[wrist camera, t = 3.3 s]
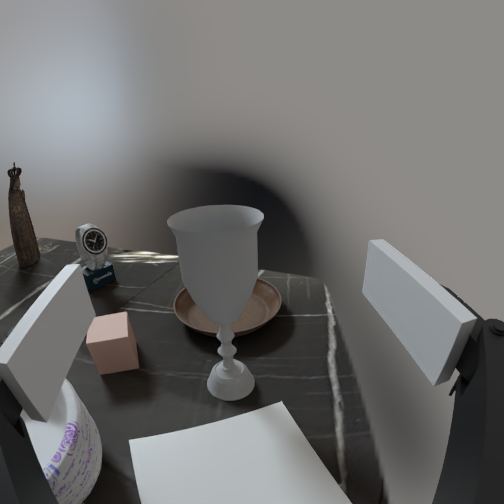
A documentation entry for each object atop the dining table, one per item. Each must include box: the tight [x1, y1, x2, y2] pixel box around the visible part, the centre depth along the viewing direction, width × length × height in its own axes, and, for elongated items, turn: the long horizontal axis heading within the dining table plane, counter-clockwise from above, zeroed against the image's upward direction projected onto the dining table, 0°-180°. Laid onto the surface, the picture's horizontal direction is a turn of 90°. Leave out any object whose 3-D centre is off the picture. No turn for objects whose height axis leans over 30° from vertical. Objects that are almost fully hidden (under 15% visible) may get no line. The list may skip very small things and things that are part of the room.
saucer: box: [173, 278, 281, 337], centre depth 41 cm, size 15×15×3 cm
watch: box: [75, 224, 116, 292], centre depth 48 cm, size 6×8×11 cm
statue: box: [8, 163, 40, 267], centre depth 54 cm, size 9×8×25 cm
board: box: [129, 401, 352, 504], centre depth 18 cm, size 15×14×1 cm
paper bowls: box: [20, 378, 102, 504], centre depth 15 cm, size 15×15×8 cm
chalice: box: [167, 205, 264, 401], centre depth 26 cm, size 7×7×18 cm
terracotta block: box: [86, 312, 139, 375], centre depth 31 cm, size 5×5×5 cm
